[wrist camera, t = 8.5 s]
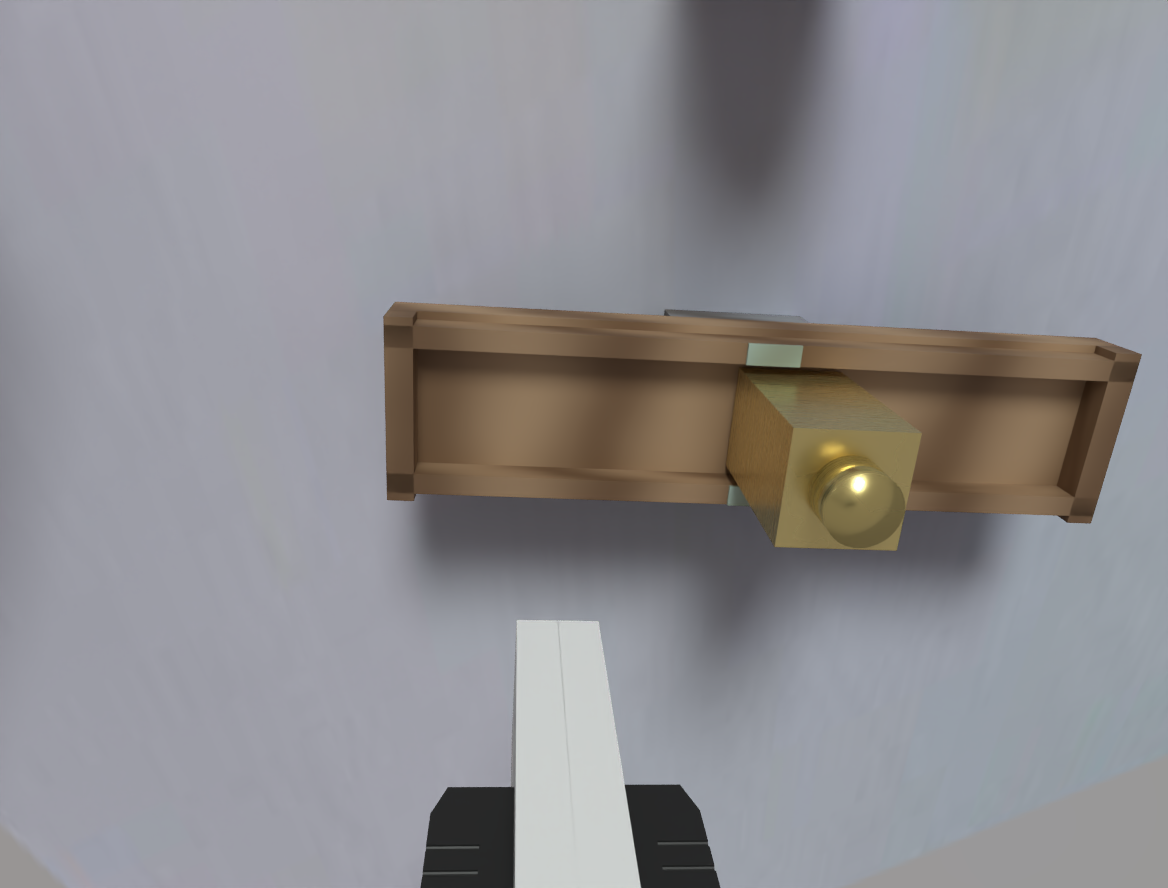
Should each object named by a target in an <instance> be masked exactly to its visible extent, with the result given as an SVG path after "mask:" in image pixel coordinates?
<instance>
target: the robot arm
mask: <svg viewBox="0 0 1168 888" xmlns="http://www.w3.org/2000/svg"><path fill="white" fill-rule="evenodd" d="M421 888H720V885H719V881H718V877H717V873H716V871H715V870H714V862H713V858H712V854H711V851H710V847H709V846H708V839H707V835H706V832H705V828H704V824H703V820H702V817H701V813H700V810H699V809H698V807H697V806H696V805H695V804H694V802H693V801H692V800H691V798H690V797H689V796H688V795H687V793H686V792H685V791H684V789H683V788H682V787H681V786H680V785H624V778H623V772H622V766H621V760H620V753H619V747H618V741H617V735H616V728H615V722H614V716H613V710H612V703H611V697H610V691H609V684H608V678H607V672H606V666H605V659H604V653H603V647H602V641H601V634H600V628H599V622H598V621H551V620H517V628H516V652H515V676H514V700H513V724H512V761H511V787H448V788H447V789H446V791H445V793H444V794H443V796H442V797H441V799H440V800H439V802H438V803H437V805H436V806H435V808H434V809H433V811H432V812H431V814H430V821H429V828H428V836H427V844H426V851H425V859H424V866H423V877H422V882H421Z"/></svg>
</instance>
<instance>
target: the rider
mask: <svg viewBox="0 0 1168 888" xmlns="http://www.w3.org/2000/svg"><path fill="white" fill-rule="evenodd" d="M921 436H922V433H921V432H920V431H919V430H917V429H916V428H915V427H913V426H912V425H911V424H909V423H908V422H907V421H905V420H904V419H903V418H901V417H900V416H899V415H897V414H896V413H895V412H893V411H892V410H891V409H889V408H888V407H887V406H886V405H884V404H883V403H882V402H880V401H879V400H878V399H876V398H875V397H874V396H872V395H871V394H870V393H868V392H867V391H866V390H864V389H863V388H862V387H860V386H859V385H858V384H856V383H855V382H854V381H853V380H851V379H850V378H849V377H847V376H846V375H845V374H843V373H842V372H830V371H809V370H788V369H767V368H745V367H739V370H738V377H737V385H736V392H735V400H734V408H733V415H732V423H731V430H730V438H729V446H728V453H727V461H726V466H727V468H728V469H729V471H730V473H731V474H732V476H733V478H734V480H735V481H736V483H737V485H738V486H739V488H740V490H741V491H742V493H743V495H744V496H745V498H746V500H747V501H748V503H749V505H750V506H751V508H752V510H753V511H754V513H755V515H756V516H757V518H758V520H759V522H760V523H761V525H762V527H763V528H764V530H765V532H766V533H767V535H768V537H769V538H770V540H771V542H772V543H773V545H774V547H791V548H825V549H859V550H892V551H897V547H898V542H899V538H900V533H901V528H902V524H903V519H904V514H905V510H906V505H907V500H908V496H909V491H910V487H911V482H912V477H913V473H914V468H915V463H916V459H917V454H918V450H919V445H920V440H921Z"/></svg>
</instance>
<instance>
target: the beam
mask: <svg viewBox="0 0 1168 888" xmlns="http://www.w3.org/2000/svg"><path fill="white" fill-rule="evenodd" d="M1141 356H1142V354H1139V353H1136V352H1134V351H1131V350H1128V349H1125V348H1122V347H1119V346H1117V345H1114V344H1111V343H1108V342H1105V341H1103V340H1100V339H1097V338H1085V337H1065V336H1046V335H1027V334H1007V333H988V332H968V331H949V330H930V329H910V328H891V327H872V326H852V325H833V324H814V323H808V322H807V321H805V320H804V319H802V318H801V317H799V316H782V315H763V314H744V313H724V312H705V311H686V310H667V309H665V316H659V315H640V314H620V313H601V312H581V311H562V310H543V309H523V308H504V307H485V306H465V305H446V304H427V303H407V302H395V303H394V304H393V305H392V307H391V308H390V309H389V310H388V311H387V313H386V314H385V315H384V367H385V419H386V471H387V500H400V501H414V499H415V496H416V494H438V495H468V496H497V497H527V498H557V499H586V500H616V501H645V502H675V503H705V504H727V506H750V505H749V503H748V501H747V500H746V498H745V496H744V495H743V493H742V491H741V490H740V488H739V486H738V485H737V483H736V481H735V480H734V478H733V476H732V474H731V473H730V471H729V469H728V468H727V466H726V461H727V453H728V446H729V438H730V430H731V423H732V415H733V408H734V400H735V392H736V385H737V377H738V370H739V367H745V368H767V369H788V370H809V371H830V372H842V373H843V374H845V375H846V376H847V377H849V378H850V379H851V380H853V381H854V382H855V383H856V384H858V385H859V386H860V387H862V388H863V389H864V390H866V391H867V392H868V393H870V394H871V395H872V396H874V397H875V398H876V399H878V400H879V401H880V402H882V403H883V404H884V405H886V406H887V407H888V408H889V409H891V410H892V411H893V412H895V413H896V414H897V415H899V416H900V417H901V418H903V419H904V420H905V421H907V422H908V423H909V424H911V425H912V426H913V427H915V428H916V429H917V430H919V431H920V432H921V433H922V436H921V440H920V445H919V450H918V454H917V459H916V463H915V468H914V473H913V477H912V482H911V487H910V491H909V496H908V500H907V505H906V510H912V511H942V512H971V513H1001V514H1031V515H1057V516H1059V517H1060V518H1062V519H1063V520H1064V521H1066V522H1067V523H1091V521H1092V518H1093V514H1094V511H1095V508H1096V505H1097V501H1098V498H1099V495H1100V491H1101V488H1102V485H1103V481H1104V478H1105V475H1106V471H1107V468H1108V465H1109V461H1110V458H1111V455H1112V452H1113V448H1114V445H1115V442H1116V438H1117V435H1118V432H1119V428H1120V425H1121V422H1122V418H1123V415H1124V412H1125V409H1126V405H1127V402H1128V399H1129V395H1130V392H1131V389H1132V385H1133V382H1134V379H1135V375H1136V372H1137V369H1138V366H1139V362H1140V359H1141Z"/></svg>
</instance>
